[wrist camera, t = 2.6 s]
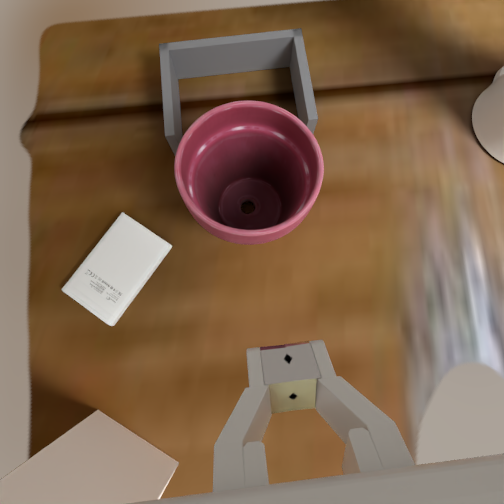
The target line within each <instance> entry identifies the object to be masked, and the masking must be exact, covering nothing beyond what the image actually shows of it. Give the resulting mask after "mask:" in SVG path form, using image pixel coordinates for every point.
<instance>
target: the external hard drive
mask: <svg viewBox="0 0 504 504" xmlns="http://www.w3.org/2000/svg"><path fill="white" fill-rule="evenodd" d="M172 247H173V246H172V245H171V244H169V243H168V242H166V241H165V240H163V239H162V238H160V237H159V236H157V235H156V234H154V233H153V232H151V231H150V230H148V229H147V228H145V227H144V226H142V225H141V224H139V223H138V222H136V221H135V220H134V219H132V218H131V217H129V216H128V215H126V214H125V213H123V212H122V213H121V215H120V216H119V217H118V218H117V220H116V221H115V222H114V223H113V225H112V226H111V227H110V229H109V230H108V231H107V232H106V234H105V235H104V236H103V237H102V239H101V240H100V241H99V243H98V244H97V245H96V246H95V248H94V249H93V250H92V251H91V253H90V254H89V255H88V256H87V258H86V259H85V260H84V262H83V263H82V264H81V265H80V267H79V268H78V269H77V270H76V272H75V273H74V274H73V276H72V277H71V278H70V279H69V281H68V282H67V283H66V284H65V286H64V287H63V288H62V291H63V292H64V293H66V294H67V295H69V296H70V297H71V298H73V299H74V300H75V301H77V302H78V303H79V304H81V305H82V306H83V307H85V308H86V309H87V310H89V311H90V312H92V313H93V314H94V315H96V316H97V317H98V318H100V319H101V320H102V321H104V322H105V323H106V324H108V325H110V326H114V325H115V324H116V322H117V321H118V320H119V318H120V317H121V316H122V314H123V313H124V312H125V310H126V309H127V308H128V306H129V305H130V303H131V302H132V301H133V299H134V298H135V297H136V295H137V294H138V293H139V291H140V290H141V289H142V287H143V286H144V285H145V283H146V282H147V280H148V279H149V278H150V276H151V275H152V274H153V272H154V271H155V270H156V268H157V267H158V266H159V264H160V263H161V262H162V260H163V259H164V258H165V256H166V255H167V254H168V252H169V251H170V249H171V248H172Z"/></svg>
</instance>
